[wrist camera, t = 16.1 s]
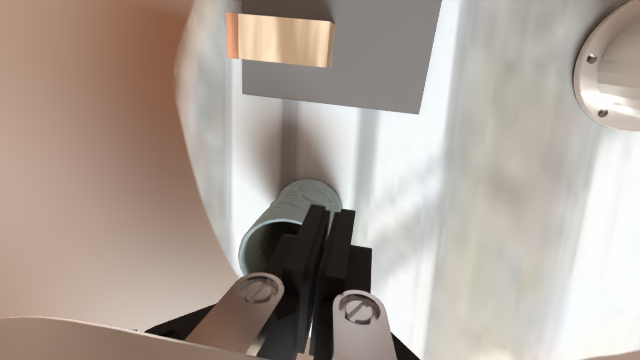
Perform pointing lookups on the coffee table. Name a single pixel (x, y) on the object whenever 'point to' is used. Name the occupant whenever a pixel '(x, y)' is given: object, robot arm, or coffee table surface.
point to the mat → (353, 54)
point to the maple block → (280, 39)
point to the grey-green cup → (283, 221)
